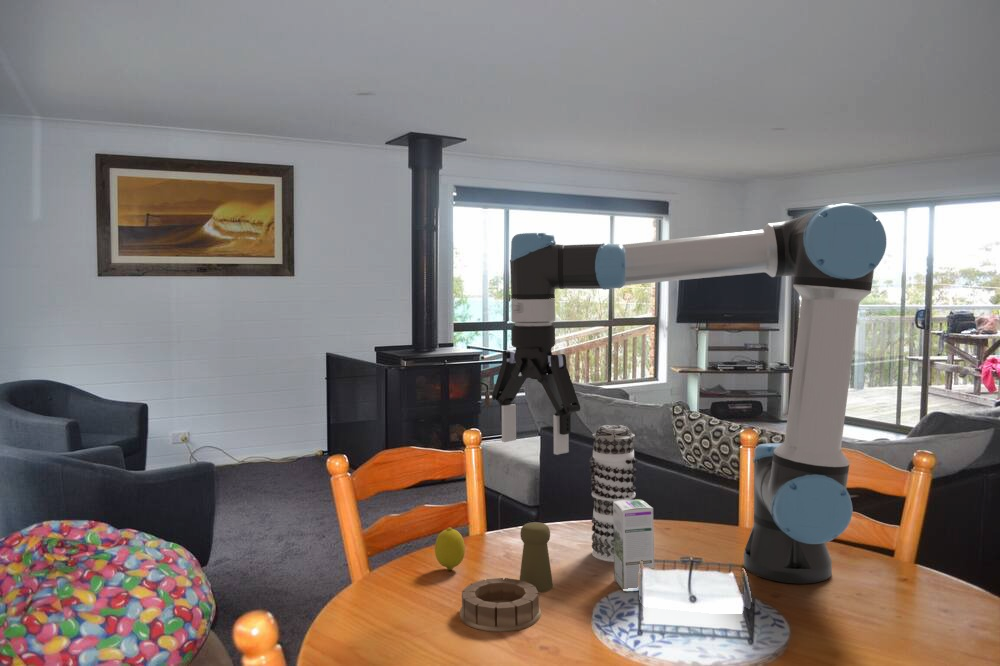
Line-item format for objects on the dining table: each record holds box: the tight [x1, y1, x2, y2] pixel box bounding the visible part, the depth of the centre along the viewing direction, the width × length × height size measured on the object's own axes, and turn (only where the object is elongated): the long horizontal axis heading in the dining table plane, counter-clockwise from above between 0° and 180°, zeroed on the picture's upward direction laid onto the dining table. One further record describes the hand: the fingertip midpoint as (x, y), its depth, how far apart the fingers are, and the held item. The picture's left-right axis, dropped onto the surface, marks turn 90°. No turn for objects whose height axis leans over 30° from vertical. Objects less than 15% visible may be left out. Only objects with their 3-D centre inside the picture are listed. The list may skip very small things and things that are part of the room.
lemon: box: [434, 527, 466, 571], centre depth 144 cm, size 6×6×8 cm
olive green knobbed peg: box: [519, 521, 554, 593], centre depth 135 cm, size 6×6×11 cm
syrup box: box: [613, 498, 655, 590], centre depth 135 cm, size 6×6×14 cm
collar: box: [459, 577, 542, 633], centre depth 124 cm, size 13×13×4 cm
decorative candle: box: [589, 424, 639, 563], centre depth 150 cm, size 9×9×25 cm
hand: (534, 447), depth 134 cm, fingers open, 13 cm apart
